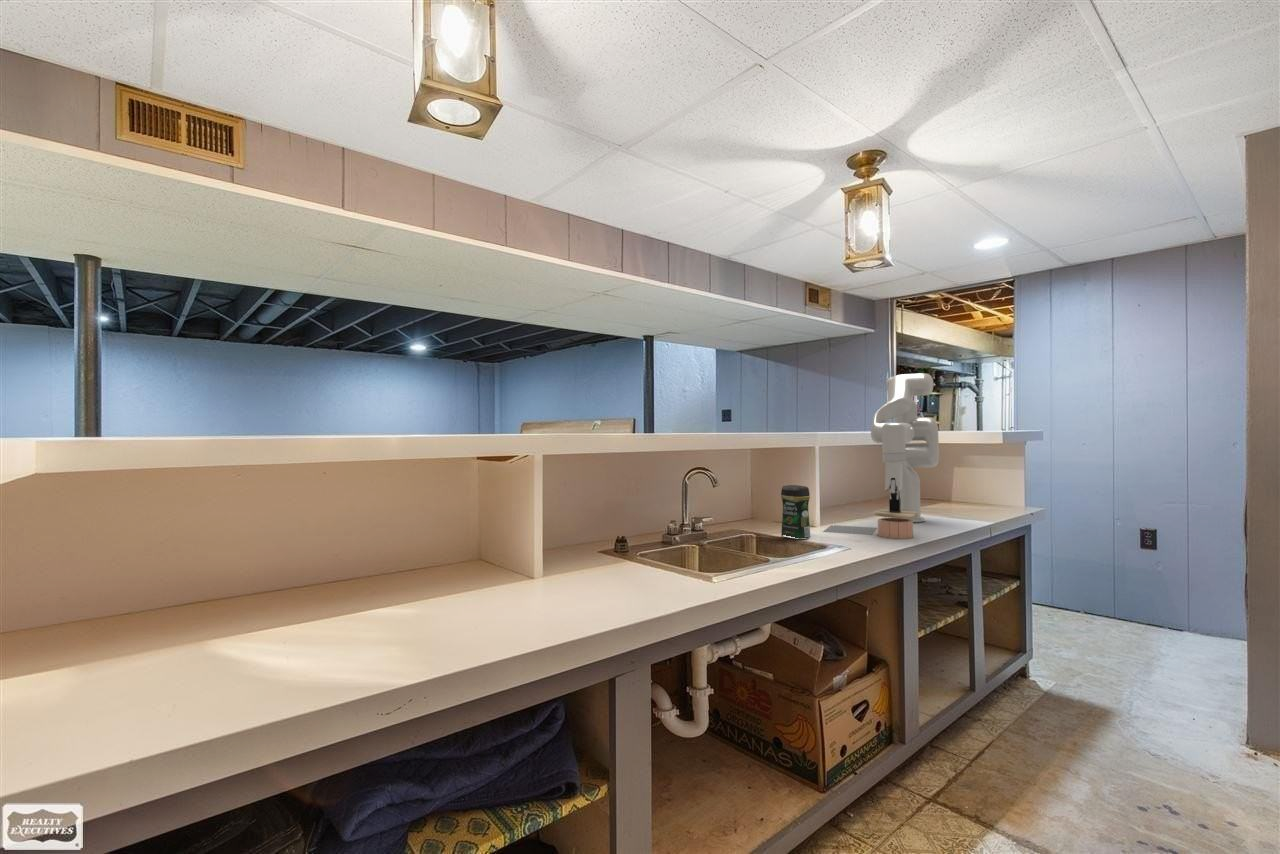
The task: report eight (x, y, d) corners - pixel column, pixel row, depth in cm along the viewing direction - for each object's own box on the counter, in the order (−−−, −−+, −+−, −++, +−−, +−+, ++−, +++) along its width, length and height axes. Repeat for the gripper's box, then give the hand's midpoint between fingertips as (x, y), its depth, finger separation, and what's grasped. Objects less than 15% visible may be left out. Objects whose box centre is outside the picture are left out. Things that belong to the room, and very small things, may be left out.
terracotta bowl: (880, 533, 213) (880, 517, 214) (914, 535, 208) (913, 518, 208) (876, 538, 204) (876, 521, 204) (911, 540, 199) (911, 523, 199)
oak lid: (876, 511, 216) (876, 495, 216) (918, 513, 209) (918, 496, 209) (871, 516, 203) (870, 499, 203) (915, 518, 197) (915, 500, 197)
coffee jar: (777, 537, 208) (776, 484, 209) (792, 534, 213) (791, 483, 213) (799, 541, 201) (798, 486, 201) (814, 538, 205) (813, 485, 206)
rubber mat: (831, 526, 230) (831, 525, 230) (877, 529, 222) (877, 527, 222) (822, 533, 216) (822, 531, 216) (871, 536, 207) (871, 534, 207)
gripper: (885, 457, 215) (886, 507, 215) (879, 459, 201) (880, 512, 201) (907, 457, 212) (908, 508, 212) (903, 459, 197) (904, 513, 197)
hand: (895, 509), depth 206 cm, fingers closed on oak lid, 3 cm apart
